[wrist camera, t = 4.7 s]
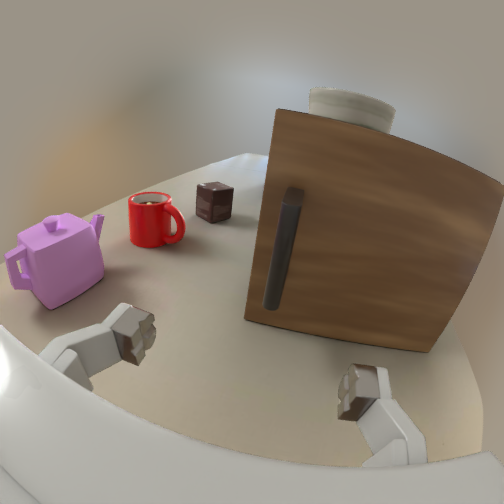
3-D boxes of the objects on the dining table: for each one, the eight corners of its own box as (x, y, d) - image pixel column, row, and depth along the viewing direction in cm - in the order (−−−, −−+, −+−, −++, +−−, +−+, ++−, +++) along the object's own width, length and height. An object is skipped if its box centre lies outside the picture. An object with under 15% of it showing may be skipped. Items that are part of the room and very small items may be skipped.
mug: (172, 259, 43) (172, 214, 40) (122, 240, 46) (119, 199, 43) (196, 241, 50) (199, 200, 46) (148, 226, 53) (148, 189, 49)
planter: (381, 240, 64) (413, 114, 48) (306, 237, 58) (336, 84, 43) (342, 209, 82) (364, 107, 66) (278, 203, 77) (297, 89, 61)
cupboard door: (438, 383, 25) (536, 203, 13) (230, 352, 28) (264, 103, 17) (427, 347, 31) (501, 184, 19) (245, 314, 34) (277, 109, 23)
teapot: (91, 247, 42) (85, 193, 38) (127, 267, 39) (122, 205, 34) (10, 292, 28) (-9, 230, 23) (35, 327, 24) (8, 255, 19)
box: (231, 219, 62) (235, 188, 58) (210, 223, 58) (212, 191, 54) (215, 210, 65) (218, 181, 62) (194, 214, 61) (196, 183, 58)
